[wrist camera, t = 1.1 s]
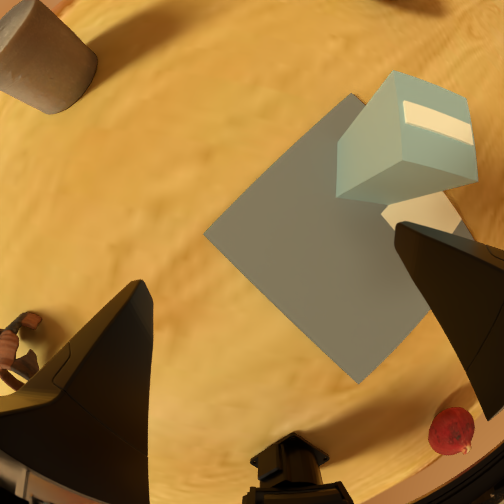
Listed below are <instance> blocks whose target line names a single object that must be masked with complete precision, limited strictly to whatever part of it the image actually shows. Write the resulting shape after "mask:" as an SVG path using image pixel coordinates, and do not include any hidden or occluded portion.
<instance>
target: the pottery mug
mask: <svg viewBox="0 0 504 504" xmlns="http://www.w3.org/2000/svg"><path fill="white" fill-rule="evenodd" d="M41 320H42V318H41V317H39V316H38V315H35V314H33V313H27V312H26V313H22V314H20V315H19V317H17V318H16V319H15V320H14V321H13V322H12V323H11V324H10V325H9V326H8V327H6V328H5V329H0V378H1V379H2V380H3V381H4V382H5V383H6V384H7V385H8V386H10V387H11V388H12V389H13V390H15V391H18V390H19V389H20V388H21V387H22V386H23V385H25V384H24V383H22V382H21V381H19V380H17V379H16V378H15V377H14V376H13V375H12V374H11V373H9V372H8V370H10V371H13V372H15V373H17V374H18V375H20V376H22V377H23V378H25V379H26V380H28V381H29V380H30V379H31V378H32V377H33V376H34V375H35V374H36V373H37V372H38V371H39V366H38V363H37V356H36V354H35V353H34V352H33V350H31V349H30V350H29V352H28V353H27V355H24V356H22V357H21V358H18V359H16V352H17V349H18V347H19V338H18V336H17V335H16V334H17V333H18V330H19V328H20V327H21V326H26V327H29V328H31V329H33V330H35V329H36V328H37V326H38V324H39V323H40V322H41Z"/></svg>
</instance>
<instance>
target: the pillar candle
mask: <svg viewBox="0 0 504 504" xmlns="http://www.w3.org/2000/svg"><path fill="white" fill-rule="evenodd" d="M96 66H97V56H96V54H95V53H93V52H92V51H91V50H90V49H89V48H88V47H87V46H86V45H85V44H84V43H83V42H82V41H81V40H80V38H78V37H77V36H76V34H75V33H74V32H73V31H72V30H71V29H70V28H69V27H68V26H66V25H65V24H64V23H63V22H62V21H61V20H60V19H59V18H58V17H57V16H56V15H55V14H54V13H53V12H52V11H51V10H50V9H48V7H46V6H45V5H44V4H43V3H42V2H41V1H39V0H23V1H21V2H20V3H18V4H17V5H15V6H14V7H13V8H12V9H11V10H10V11H9V12H8V13H6V14H5V15H4V16H3V17H2V19H1V20H0V91H3V92H5V93H7V94H8V95H10V96H12V97H14V98H16V99H18V100H20V101H22V102H24V103H26V104H28V105H30V106H32V107H34V108H36V109H38V110H40V111H42V112H44V113H46V114H55V113H58V112H60V111H63V110H65V109H67V108H69V107H70V106H71V105H72V104H74V103H75V102H76V101H77V100H78V99H79V98H80V96H81V95H82V94H83V93H84V92H85V90H86V89H87V87H88V86H89V84H90V82H91V81H92V79H93V77H94V74H95V71H96Z"/></svg>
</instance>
